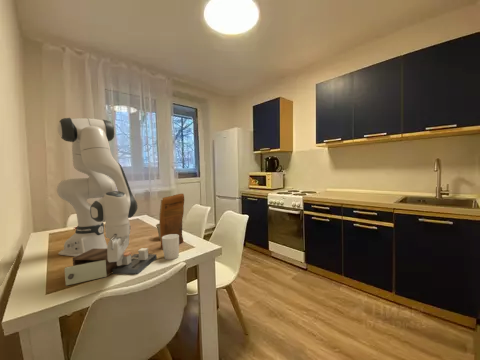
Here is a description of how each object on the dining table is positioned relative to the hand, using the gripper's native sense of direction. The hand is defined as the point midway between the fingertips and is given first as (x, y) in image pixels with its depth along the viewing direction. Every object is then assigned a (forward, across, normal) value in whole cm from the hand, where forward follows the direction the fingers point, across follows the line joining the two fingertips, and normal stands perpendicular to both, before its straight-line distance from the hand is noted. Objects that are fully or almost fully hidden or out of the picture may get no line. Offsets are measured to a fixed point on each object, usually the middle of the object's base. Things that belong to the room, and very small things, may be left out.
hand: (120, 264), depth 93 cm
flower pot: (+4, +43, -15) cm, 46 cm away
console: (+4, +5, -5) cm, 8 cm away
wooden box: (+4, +7, +9) cm, 12 cm away
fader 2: (+1, +6, -8) cm, 10 cm away
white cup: (+4, +10, -20) cm, 23 cm away
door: (+3, -4, +11) cm, 12 cm away
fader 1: (+1, +4, -2) cm, 4 cm away
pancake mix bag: (+4, +28, -21) cm, 35 cm away
